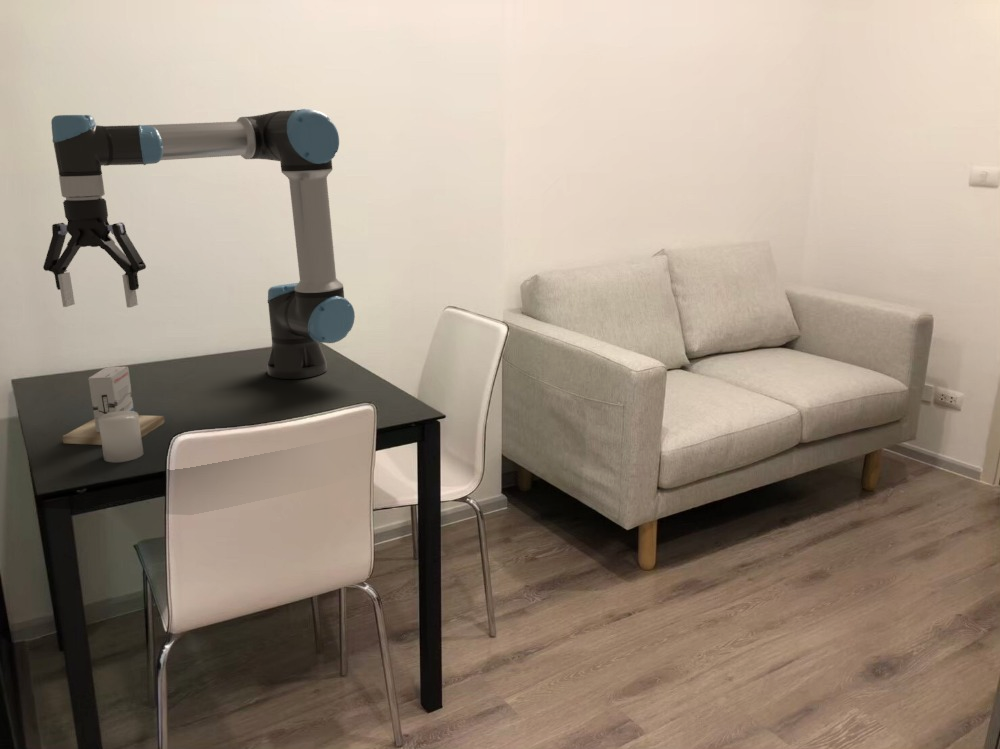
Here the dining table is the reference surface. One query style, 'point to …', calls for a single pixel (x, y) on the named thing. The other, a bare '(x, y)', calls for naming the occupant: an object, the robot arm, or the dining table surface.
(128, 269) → the robot arm
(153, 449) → the dining table surface
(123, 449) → the white frosted cylinder
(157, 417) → the birch board
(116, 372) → the ink box
